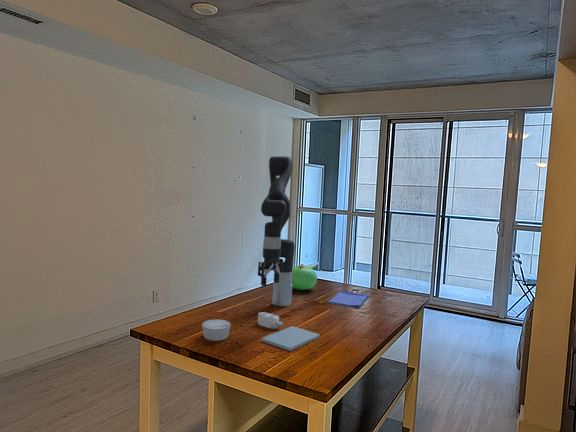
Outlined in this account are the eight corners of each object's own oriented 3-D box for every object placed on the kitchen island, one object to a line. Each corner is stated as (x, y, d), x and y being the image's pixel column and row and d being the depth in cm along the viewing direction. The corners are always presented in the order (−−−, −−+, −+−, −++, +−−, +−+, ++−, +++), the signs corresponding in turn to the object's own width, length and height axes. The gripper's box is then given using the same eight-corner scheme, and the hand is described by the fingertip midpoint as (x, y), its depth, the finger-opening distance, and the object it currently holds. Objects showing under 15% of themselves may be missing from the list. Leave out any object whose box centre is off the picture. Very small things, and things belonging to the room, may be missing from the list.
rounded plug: (262, 321, 189) (262, 311, 189) (284, 328, 182) (285, 318, 181) (255, 323, 186) (256, 313, 185) (278, 331, 178) (278, 320, 178)
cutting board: (292, 328, 182) (292, 326, 181) (319, 337, 173) (319, 334, 173) (261, 341, 166) (261, 338, 166) (290, 351, 157) (290, 348, 157)
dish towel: (369, 298, 239) (369, 293, 239) (359, 309, 218) (360, 304, 217) (339, 294, 246) (339, 289, 246) (327, 304, 224) (327, 299, 224)
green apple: (283, 291, 244) (284, 266, 243) (288, 284, 260) (289, 260, 259) (314, 294, 241) (316, 268, 240) (317, 287, 258) (319, 263, 256)
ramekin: (217, 344, 160) (217, 330, 160) (195, 337, 166) (195, 324, 166) (235, 336, 170) (236, 323, 169) (214, 330, 176) (215, 317, 175)
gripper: (275, 244, 190) (273, 280, 191) (254, 247, 178) (252, 285, 179) (288, 246, 185) (287, 283, 186) (268, 249, 174) (266, 288, 175)
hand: (270, 284), depth 183 cm, fingers open, 8 cm apart
